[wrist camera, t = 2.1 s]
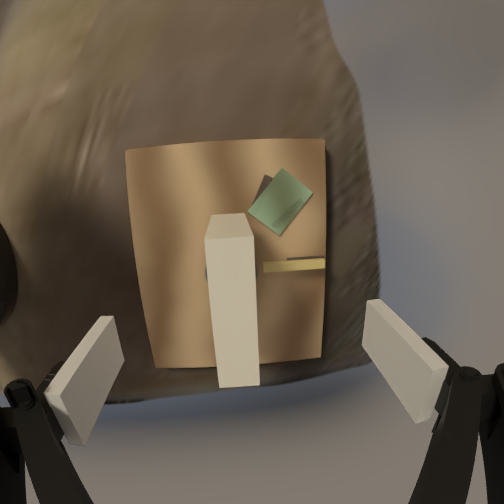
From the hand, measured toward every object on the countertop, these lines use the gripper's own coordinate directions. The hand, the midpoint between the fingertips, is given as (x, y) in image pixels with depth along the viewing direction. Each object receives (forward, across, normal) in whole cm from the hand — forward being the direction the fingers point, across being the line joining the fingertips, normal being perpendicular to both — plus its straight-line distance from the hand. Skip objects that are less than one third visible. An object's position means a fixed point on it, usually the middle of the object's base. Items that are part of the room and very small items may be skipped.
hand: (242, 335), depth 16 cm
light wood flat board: (+13, 0, 0) cm, 13 cm away
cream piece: (+11, +2, 0) cm, 11 cm away
